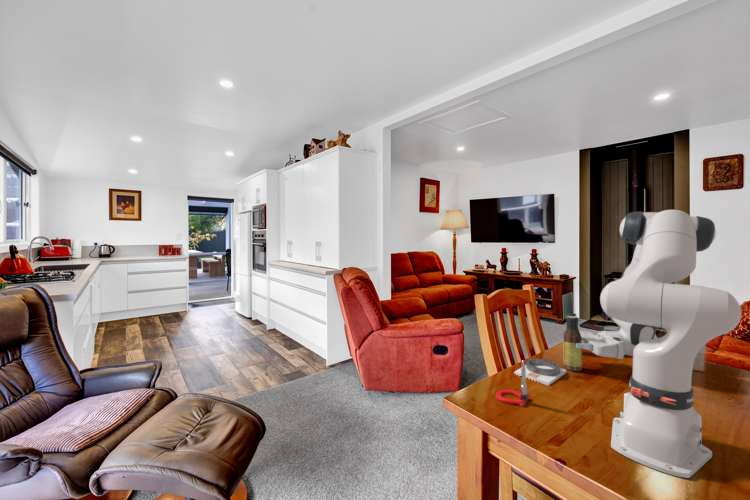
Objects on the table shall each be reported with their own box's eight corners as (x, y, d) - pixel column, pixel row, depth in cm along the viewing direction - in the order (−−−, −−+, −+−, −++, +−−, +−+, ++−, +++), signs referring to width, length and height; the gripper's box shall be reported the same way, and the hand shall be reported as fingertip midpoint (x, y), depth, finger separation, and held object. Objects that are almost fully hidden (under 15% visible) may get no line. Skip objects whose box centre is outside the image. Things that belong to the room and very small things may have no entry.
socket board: (548, 385, 112) (548, 376, 112) (514, 374, 121) (514, 366, 121) (566, 372, 122) (566, 364, 122) (533, 363, 131) (533, 355, 131)
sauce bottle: (586, 372, 122) (586, 319, 122) (569, 372, 123) (569, 319, 122) (575, 365, 129) (576, 315, 128) (559, 365, 129) (560, 315, 129)
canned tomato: (608, 356, 139) (609, 330, 139) (599, 349, 147) (599, 325, 147) (629, 357, 138) (630, 331, 138) (618, 350, 146) (619, 326, 145)
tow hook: (491, 400, 103) (523, 408, 97) (490, 359, 103) (521, 365, 97) (501, 390, 109) (531, 398, 103) (500, 352, 109) (529, 357, 103)
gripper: (592, 327, 135) (557, 326, 136) (626, 343, 115) (585, 342, 116) (591, 342, 135) (556, 341, 136) (626, 361, 115) (584, 360, 116)
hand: (570, 342), depth 126 cm, fingers closed on sauce bottle, 6 cm apart
